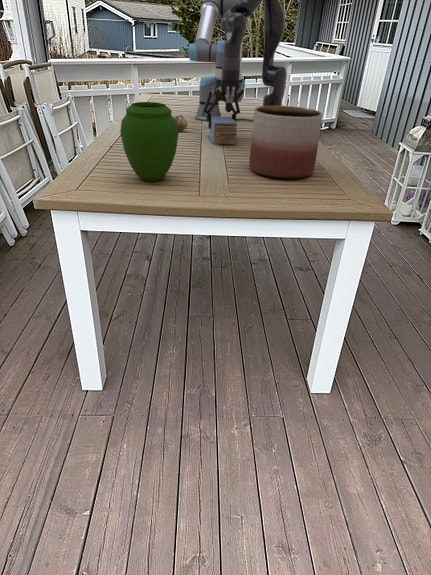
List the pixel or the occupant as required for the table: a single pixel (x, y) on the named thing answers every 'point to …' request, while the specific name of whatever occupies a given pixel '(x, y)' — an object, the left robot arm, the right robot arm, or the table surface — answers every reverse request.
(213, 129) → the cabinet
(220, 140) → the drawer
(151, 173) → the vase
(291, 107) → the planter
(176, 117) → the seashell
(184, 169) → the table surface
